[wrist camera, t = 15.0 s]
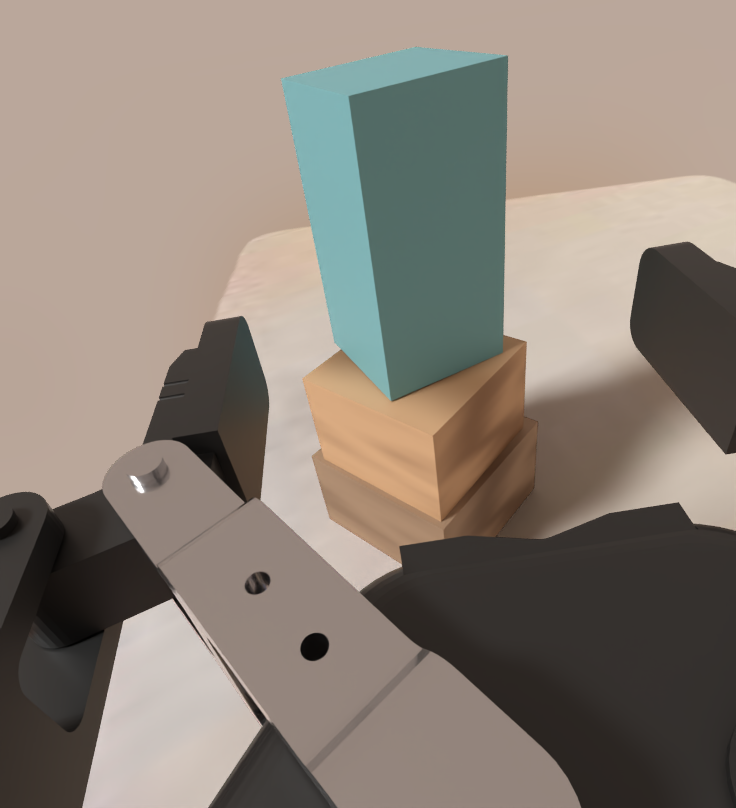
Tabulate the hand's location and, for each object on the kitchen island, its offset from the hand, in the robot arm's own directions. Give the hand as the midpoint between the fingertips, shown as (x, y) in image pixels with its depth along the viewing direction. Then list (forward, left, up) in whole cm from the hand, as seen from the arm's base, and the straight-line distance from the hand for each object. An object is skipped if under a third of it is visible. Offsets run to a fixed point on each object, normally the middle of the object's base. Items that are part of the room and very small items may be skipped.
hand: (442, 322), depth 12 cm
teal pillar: (-8, -8, -8) cm, 14 cm away
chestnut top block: (-8, -7, -13) cm, 17 cm away
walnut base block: (-8, -7, -18) cm, 21 cm away
